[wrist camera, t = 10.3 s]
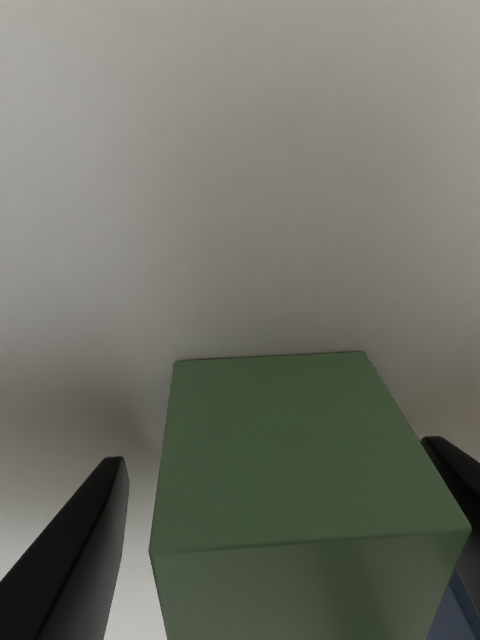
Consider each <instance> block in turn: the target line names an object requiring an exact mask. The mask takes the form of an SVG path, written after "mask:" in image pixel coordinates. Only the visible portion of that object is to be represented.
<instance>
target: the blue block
mask: <svg viewBox="0 0 480 640" xmlns="http://www.w3.org/2000/svg"><path fill="white" fill-rule="evenodd" d="M425 640H480V618H479V616H478V614H477V612H476V609H475V607H474V605H473V603H472V601H471V599H470V597H469V595H468V593H467V591H466V589H465V586H464V584H463V582H462V580H461V578H460V576H459V574H458V572H457V570H456V568H455V571H454V573H453V575H452V578H451V580H450V583H449V585H448V587H447V590H446V592H445V594H444V597H443V599H442V601H441V604H440V606H439V608H438V611H437V613H436V615H435V618H434V620H433V622H432V625H431V627H430V630H429V632H428V634H427V637H426V639H425Z"/></svg>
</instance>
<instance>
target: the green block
mask: <svg viewBox="0 0 480 640" xmlns="http://www.w3.org/2000/svg"><path fill="white" fill-rule="evenodd" d="M471 531H472V528H471V524H470V523H469V521H468V520H467V518H466V516H465V515H464V513H463V511H462V510H461V508H460V507H459V505H458V503H457V502H456V500H455V498H454V497H453V495H452V493H451V492H450V490H449V489H448V487H447V485H446V484H445V482H444V480H443V479H442V477H441V476H440V474H439V472H438V471H437V469H436V467H435V466H434V464H433V463H432V461H431V459H430V458H429V456H428V454H427V453H426V451H425V450H424V448H423V446H422V445H421V443H420V441H419V440H418V438H417V437H416V435H415V433H414V432H413V430H412V428H411V427H410V425H409V424H408V422H407V420H406V419H405V417H404V415H403V414H402V412H401V411H400V409H399V407H398V406H397V404H396V402H395V401H394V399H393V398H392V396H391V394H390V393H389V391H388V389H387V388H386V386H385V385H384V383H383V381H382V380H381V378H380V376H379V375H378V373H377V372H376V370H375V368H374V367H373V365H372V363H371V362H370V360H369V359H368V357H367V355H366V354H365V352H344V353H324V354H305V355H286V356H267V357H248V358H228V359H209V360H190V361H176V362H174V365H173V373H172V380H171V388H170V395H169V403H168V410H167V417H166V425H165V432H164V440H163V447H162V455H161V462H160V469H159V477H158V484H157V492H156V499H155V507H154V514H153V521H152V529H151V536H150V544H149V556H150V560H151V565H152V570H153V574H154V579H155V584H156V588H157V593H158V598H159V602H160V607H161V612H162V616H163V621H164V626H165V630H166V635H167V640H425V639H426V637H427V634H428V632H429V630H430V627H431V625H432V622H433V620H434V618H435V615H436V613H437V611H438V608H439V606H440V604H441V601H442V599H443V597H444V594H445V592H446V590H447V587H448V585H449V583H450V580H451V578H452V575H453V573H454V571H455V568H456V566H457V564H458V561H459V559H460V557H461V554H462V552H463V550H464V547H465V545H466V543H467V540H468V538H469V536H470V533H471Z"/></svg>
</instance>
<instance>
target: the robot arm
mask: <svg viewBox="0 0 480 640" xmlns="http://www.w3.org/2000/svg"><path fill="white" fill-rule="evenodd" d="M420 443H421V445H422V446H423V448H424V450H425V451H426V453H427V454H428V456H429V458H430V459H431V461H432V463H433V464H434V466H435V467H436V469H437V471H438V472H439V474H440V476H441V477H442V479H443V480H444V482H445V484H446V485H447V487H448V489H449V490H450V492H451V493H452V495H453V497H454V498H455V500H456V502H457V503H458V505H459V507H460V508H461V510H462V511H463V513H464V515H465V516H466V518H467V520H468V521H469V523H470V524H471V528H472V531H471V533H470V536H469V538H468V540H467V543H466V545H465V547H464V550H463V552H462V554H461V557H460V559H459V561H458V564H457V566H456V570H457V572H458V574H459V576H460V578H461V580H462V582H463V584H464V586H465V589H466V591H467V593H468V595H469V597H470V599H471V601H472V603H473V605H474V607H475V609H476V612H477V614H478V616H479V618H480V463H479V462H478V461H476V460H475V459H473V458H472V457H470V456H469V455H467V454H466V453H465V452H463V451H462V450H460V449H459V448H457V447H456V446H455V445H453V444H452V443H450V442H449V441H447V440H446V439H444V438H443V437H441V436H426V437H423V438H422V439H421V442H420ZM128 495H129V478H128V473H127V469H126V464H125V460H124V458H123V457H122V456H114V457H106V458H104V459H103V460H102V461H101V462H100V464H99V465H98V466H97V467H96V468H95V470H94V471H93V472H92V473H91V474H90V475H89V477H88V478H87V479H86V480H85V481H84V483H83V484H82V485H81V486H80V487H79V489H78V490H77V491H76V492H75V493H74V495H73V496H72V497H71V498H70V499H69V500H68V502H67V503H66V504H65V505H64V506H63V508H62V509H61V510H60V511H59V512H58V514H57V515H56V516H55V517H54V518H53V519H52V521H51V522H50V523H49V524H48V525H47V527H46V528H45V529H44V530H43V531H42V533H41V534H40V535H39V536H38V537H37V539H36V540H35V541H34V542H33V543H32V544H31V546H30V547H29V548H28V549H27V550H26V552H25V553H24V554H23V555H22V556H21V558H20V559H19V560H18V561H17V562H16V564H15V565H14V566H13V567H12V568H11V569H10V571H9V572H8V573H7V574H6V575H5V577H4V578H3V579H2V580H1V581H0V640H103V639H104V634H105V630H106V625H107V621H108V616H109V612H110V607H111V603H112V599H113V594H114V590H115V585H116V581H117V576H118V572H119V567H120V562H121V556H122V548H123V540H124V531H125V522H126V513H127V504H128Z"/></svg>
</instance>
